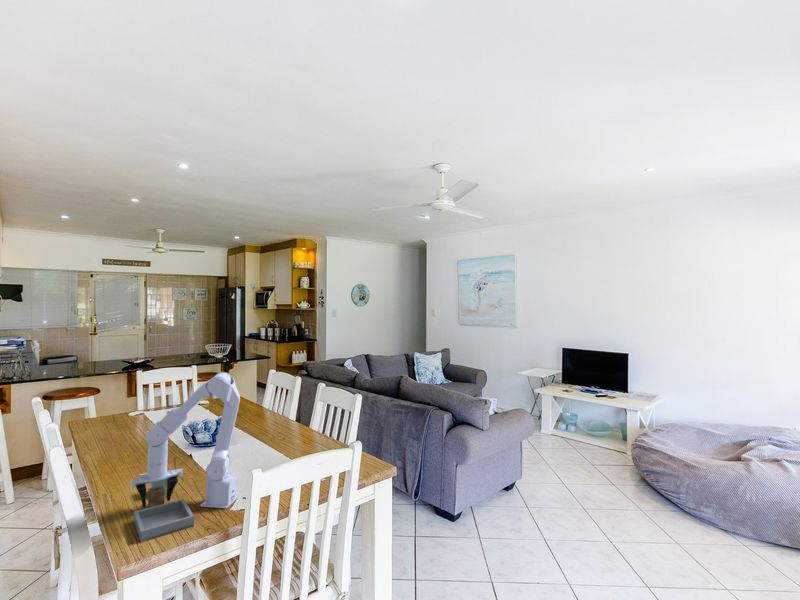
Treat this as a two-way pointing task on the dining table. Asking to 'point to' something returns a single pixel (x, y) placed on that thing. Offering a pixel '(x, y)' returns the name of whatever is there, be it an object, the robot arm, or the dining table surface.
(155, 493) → the walnut block
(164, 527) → the tray
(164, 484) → the green block
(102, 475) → the dining table surface
